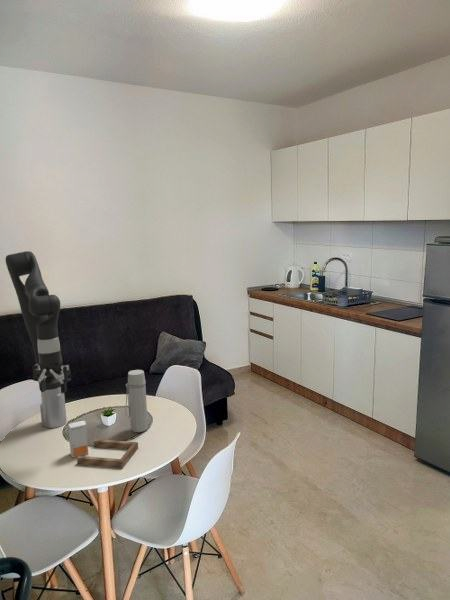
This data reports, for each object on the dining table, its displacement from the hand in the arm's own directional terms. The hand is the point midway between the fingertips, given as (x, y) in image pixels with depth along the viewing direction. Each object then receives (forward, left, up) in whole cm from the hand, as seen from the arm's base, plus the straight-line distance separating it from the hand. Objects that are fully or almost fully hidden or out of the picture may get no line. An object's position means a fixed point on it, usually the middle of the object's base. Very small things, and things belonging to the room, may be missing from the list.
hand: (53, 392), depth 158 cm
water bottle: (+22, +22, -24) cm, 40 cm away
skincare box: (+8, 0, -24) cm, 26 cm away
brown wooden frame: (+20, 0, -24) cm, 31 cm away
